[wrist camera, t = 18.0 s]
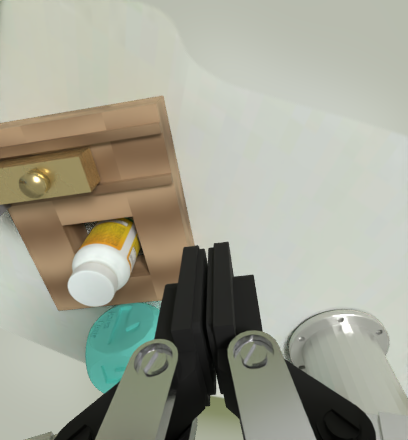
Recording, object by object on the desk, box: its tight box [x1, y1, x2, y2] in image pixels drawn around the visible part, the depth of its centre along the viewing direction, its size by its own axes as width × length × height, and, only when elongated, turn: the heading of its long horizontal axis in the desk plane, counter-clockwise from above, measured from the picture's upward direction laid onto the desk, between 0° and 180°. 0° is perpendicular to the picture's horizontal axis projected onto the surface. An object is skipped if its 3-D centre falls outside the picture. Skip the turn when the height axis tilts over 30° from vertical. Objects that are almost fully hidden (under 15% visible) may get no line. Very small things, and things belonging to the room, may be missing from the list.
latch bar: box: [0, 147, 101, 205], centre depth 27 cm, size 3×8×4 cm, turn 99°
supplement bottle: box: [68, 217, 141, 307], centre depth 32 cm, size 5×5×10 cm
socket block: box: [0, 96, 195, 311], centre depth 32 cm, size 20×16×7 cm
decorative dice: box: [86, 302, 160, 394], centre depth 40 cm, size 8×8×8 cm
